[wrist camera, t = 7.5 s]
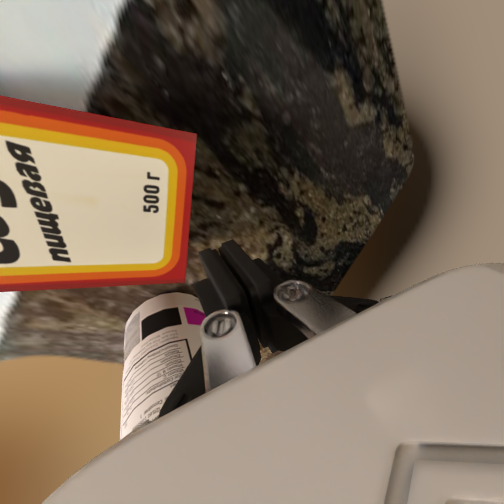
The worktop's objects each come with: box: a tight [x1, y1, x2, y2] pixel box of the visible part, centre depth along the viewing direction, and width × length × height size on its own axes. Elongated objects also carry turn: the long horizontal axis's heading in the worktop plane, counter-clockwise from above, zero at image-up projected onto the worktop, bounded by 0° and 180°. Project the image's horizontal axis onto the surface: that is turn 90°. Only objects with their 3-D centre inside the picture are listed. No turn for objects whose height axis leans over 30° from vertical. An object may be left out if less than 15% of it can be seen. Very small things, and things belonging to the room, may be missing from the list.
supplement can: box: [120, 292, 206, 440], centre depth 20 cm, size 8×8×15 cm
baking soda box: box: [0, 96, 197, 292], centre depth 15 cm, size 10×6×16 cm
